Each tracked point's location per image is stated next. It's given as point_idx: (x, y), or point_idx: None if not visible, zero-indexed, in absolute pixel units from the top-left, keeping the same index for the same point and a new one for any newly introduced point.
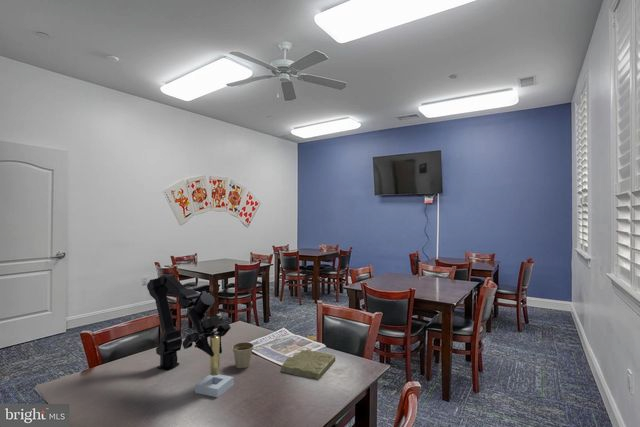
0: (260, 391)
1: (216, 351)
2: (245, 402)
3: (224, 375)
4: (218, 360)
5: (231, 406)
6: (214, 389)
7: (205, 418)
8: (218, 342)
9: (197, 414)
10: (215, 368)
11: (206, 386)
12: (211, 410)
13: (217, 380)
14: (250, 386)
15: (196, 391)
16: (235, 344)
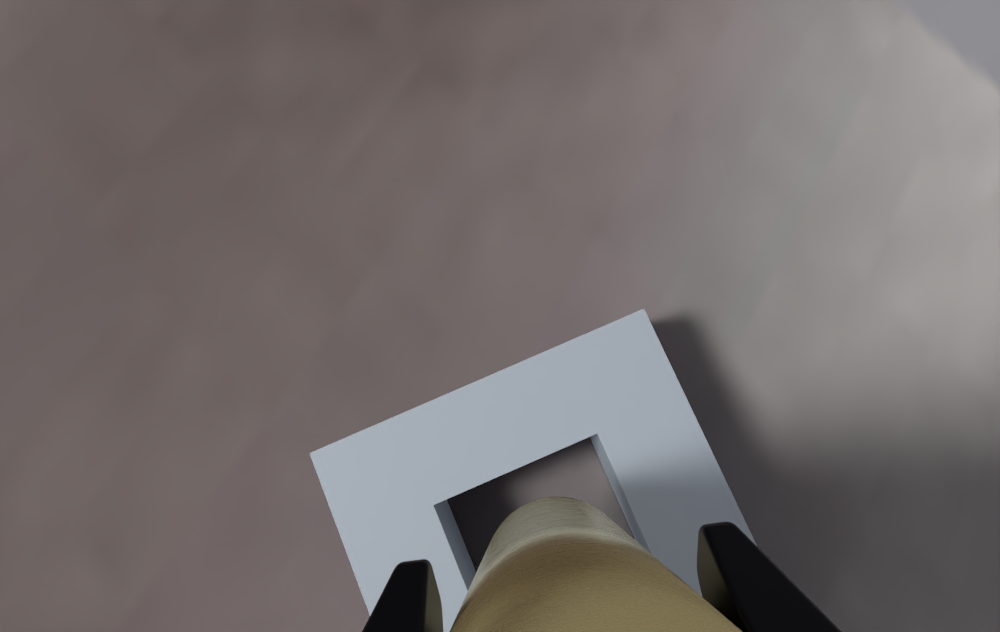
0: (230, 106)
1: (610, 548)
2: (471, 40)
3: (367, 597)
4: (525, 528)
5: (612, 74)
6: (661, 356)
7: (904, 69)
8: (533, 620)
9: (938, 182)
10: (591, 510)
11: (716, 486)
12: (798, 149)
13: None
14: (229, 272)
15: None
16: None
